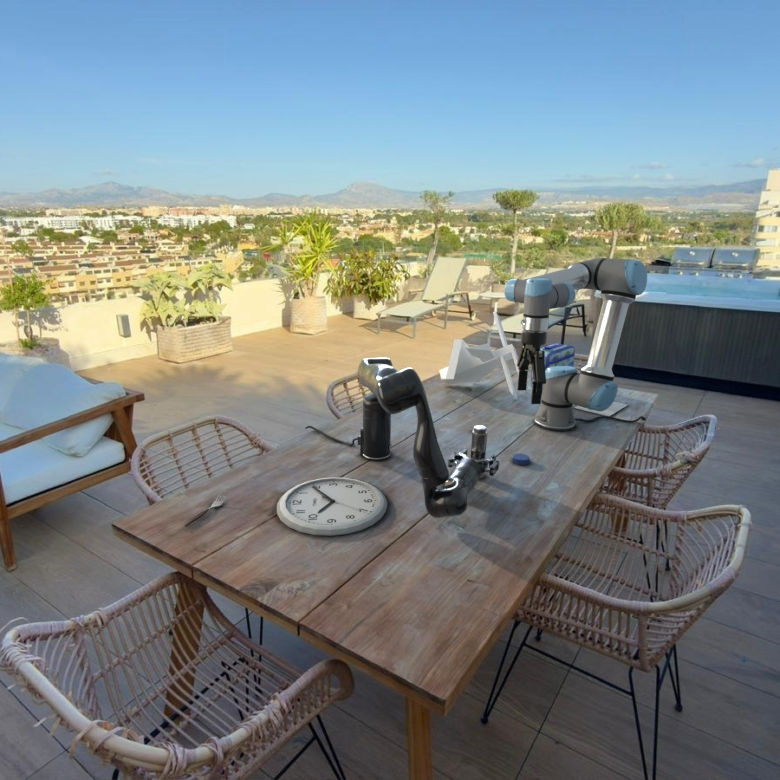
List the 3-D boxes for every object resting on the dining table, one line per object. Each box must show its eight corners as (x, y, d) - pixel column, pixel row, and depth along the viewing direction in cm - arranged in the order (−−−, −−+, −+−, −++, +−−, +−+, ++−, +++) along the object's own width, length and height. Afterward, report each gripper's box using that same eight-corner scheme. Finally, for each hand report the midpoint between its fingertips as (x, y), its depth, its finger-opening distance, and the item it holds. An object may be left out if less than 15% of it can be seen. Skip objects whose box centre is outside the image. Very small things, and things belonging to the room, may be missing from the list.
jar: (482, 480, 159) (486, 430, 154) (467, 477, 160) (471, 428, 155) (485, 474, 163) (489, 425, 158) (471, 471, 164) (474, 423, 159)
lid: (531, 460, 172) (531, 455, 172) (526, 466, 168) (526, 461, 168) (515, 457, 175) (516, 452, 175) (510, 462, 171) (510, 457, 170)
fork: (180, 527, 131) (179, 520, 130) (221, 497, 145) (220, 491, 145) (189, 529, 130) (188, 522, 130) (228, 499, 144) (228, 493, 144)
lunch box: (547, 395, 239) (552, 351, 233) (526, 390, 247) (530, 347, 240) (574, 384, 257) (579, 343, 251) (554, 380, 264) (558, 339, 258)
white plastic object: (461, 429, 252) (437, 405, 227) (444, 352, 274) (420, 323, 250) (535, 404, 240) (518, 377, 215) (510, 326, 262) (492, 293, 237)
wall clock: (392, 527, 129) (268, 531, 127) (391, 533, 130) (269, 537, 127) (383, 473, 158) (282, 475, 155) (383, 478, 158) (282, 480, 156)
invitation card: (608, 416, 214) (573, 407, 224) (608, 416, 214) (573, 408, 224) (628, 404, 229) (594, 396, 238) (628, 405, 229) (594, 397, 238)
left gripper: (490, 468, 143) (503, 447, 157) (441, 459, 148) (457, 439, 162) (488, 493, 145) (501, 470, 159) (439, 482, 151) (456, 461, 165)
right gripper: (510, 323, 170) (505, 385, 177) (536, 339, 147) (529, 410, 153) (532, 322, 171) (527, 384, 177) (562, 339, 147) (554, 409, 154)
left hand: (479, 454), depth 161 cm, fingers open, 8 cm apart
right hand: (528, 396), depth 165 cm, fingers open, 13 cm apart
